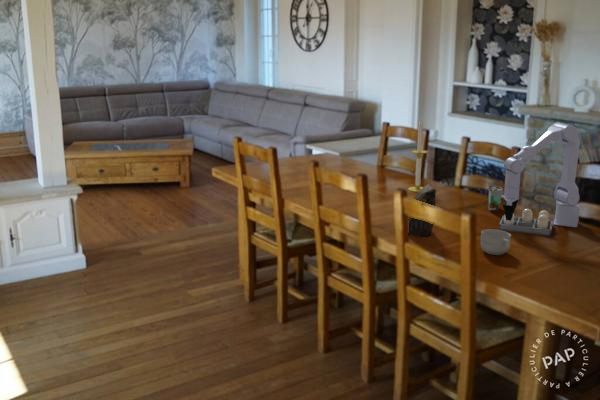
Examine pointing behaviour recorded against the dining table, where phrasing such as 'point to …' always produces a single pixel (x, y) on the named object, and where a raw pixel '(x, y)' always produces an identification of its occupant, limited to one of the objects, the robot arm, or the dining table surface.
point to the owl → (420, 226)
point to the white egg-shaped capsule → (508, 222)
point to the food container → (494, 197)
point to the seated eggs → (542, 218)
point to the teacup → (495, 241)
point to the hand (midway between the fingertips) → (509, 217)
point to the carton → (526, 227)
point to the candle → (418, 159)
